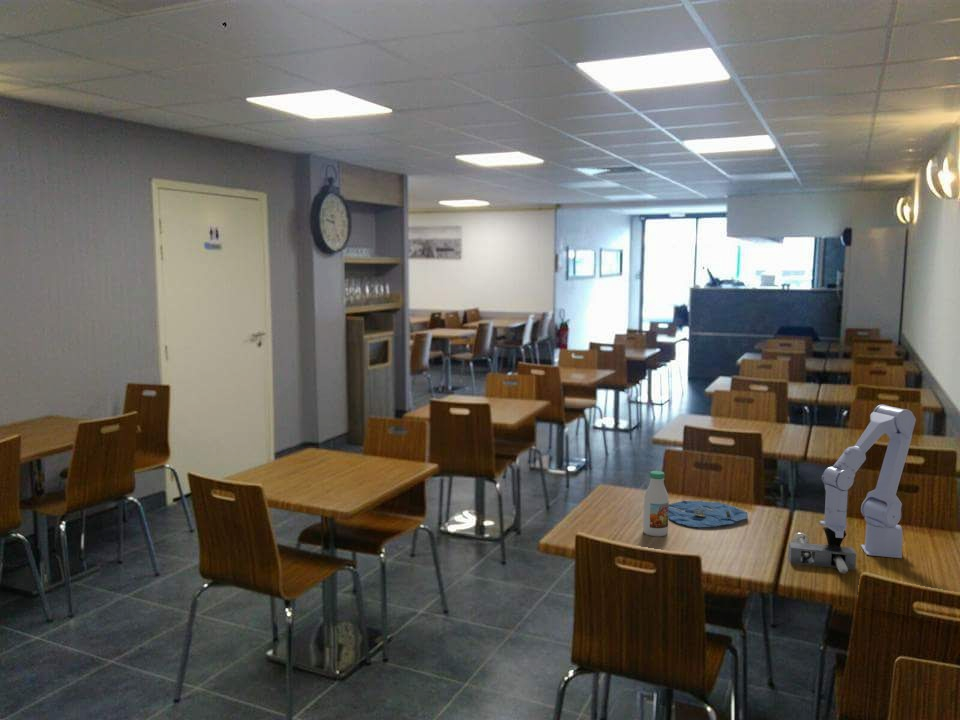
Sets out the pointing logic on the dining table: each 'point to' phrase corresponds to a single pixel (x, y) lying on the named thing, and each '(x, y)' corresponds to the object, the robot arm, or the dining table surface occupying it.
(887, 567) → the dining table surface
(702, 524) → the decorative plate
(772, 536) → the dining table surface
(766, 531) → the dining table surface
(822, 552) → the block
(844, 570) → the pin
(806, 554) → the pin
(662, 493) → the milk bottle
